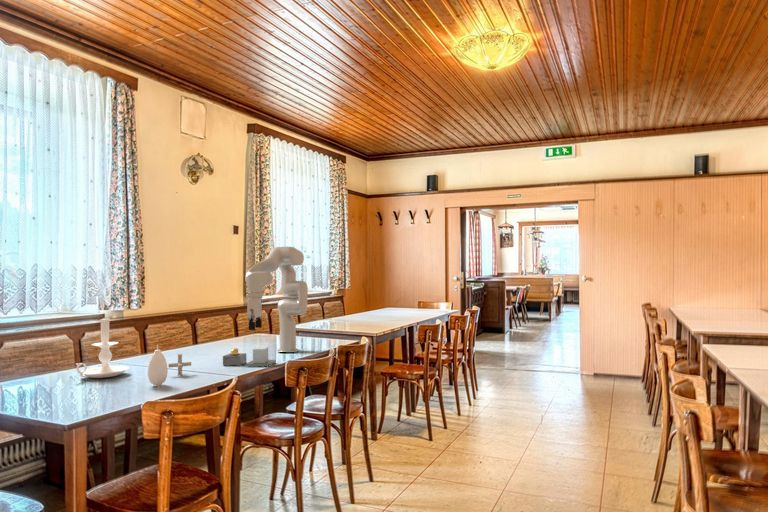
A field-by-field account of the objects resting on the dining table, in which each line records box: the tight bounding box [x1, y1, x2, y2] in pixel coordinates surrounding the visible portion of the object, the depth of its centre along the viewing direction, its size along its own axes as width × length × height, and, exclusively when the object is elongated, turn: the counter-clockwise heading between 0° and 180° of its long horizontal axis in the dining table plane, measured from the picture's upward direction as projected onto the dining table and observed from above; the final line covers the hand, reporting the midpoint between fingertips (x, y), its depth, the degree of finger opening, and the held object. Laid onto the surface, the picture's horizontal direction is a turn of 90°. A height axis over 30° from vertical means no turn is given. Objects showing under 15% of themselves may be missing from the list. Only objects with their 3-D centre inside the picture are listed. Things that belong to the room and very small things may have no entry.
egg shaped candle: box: [147, 343, 169, 387], centre depth 223 cm, size 8×8×18 cm
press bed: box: [244, 359, 277, 367], centre depth 269 cm, size 12×12×2 cm
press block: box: [222, 352, 247, 366], centre depth 272 cm, size 9×9×5 cm
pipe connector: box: [167, 353, 192, 376], centre depth 245 cm, size 10×10×10 cm
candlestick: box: [75, 317, 130, 379], centre depth 244 cm, size 21×25×28 cm
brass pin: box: [230, 348, 239, 355], centre depth 272 cm, size 4×4×5 cm
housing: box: [252, 346, 269, 363], centre depth 270 cm, size 6×6×7 cm
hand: (255, 328), depth 270 cm, fingers open, 9 cm apart
